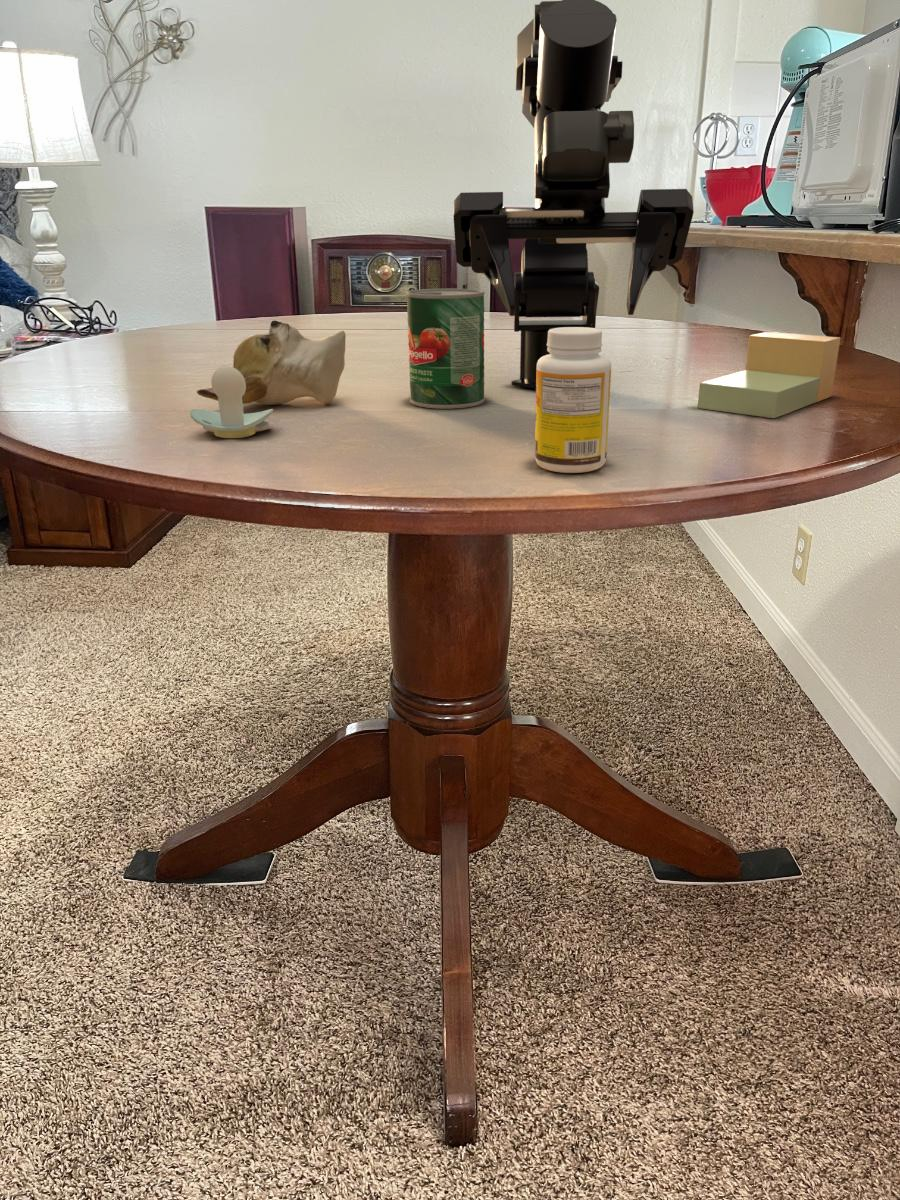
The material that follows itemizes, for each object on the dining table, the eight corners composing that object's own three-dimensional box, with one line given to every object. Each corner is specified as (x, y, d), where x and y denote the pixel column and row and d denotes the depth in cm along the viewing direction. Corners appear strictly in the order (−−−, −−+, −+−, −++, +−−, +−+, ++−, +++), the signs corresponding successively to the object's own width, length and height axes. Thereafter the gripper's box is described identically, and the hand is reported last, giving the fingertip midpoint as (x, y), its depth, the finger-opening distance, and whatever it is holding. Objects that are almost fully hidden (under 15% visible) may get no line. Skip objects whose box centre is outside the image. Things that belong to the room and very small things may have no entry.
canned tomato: (497, 397, 95) (498, 289, 91) (463, 411, 89) (462, 295, 84) (432, 392, 98) (430, 287, 94) (395, 405, 92) (391, 293, 88)
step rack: (697, 408, 89) (703, 346, 86) (758, 388, 98) (765, 331, 96) (774, 418, 84) (783, 353, 81) (831, 396, 93) (840, 337, 91)
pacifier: (205, 428, 84) (187, 440, 78) (198, 360, 82) (179, 368, 76) (282, 427, 84) (270, 440, 78) (277, 359, 82) (264, 367, 76)
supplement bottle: (559, 453, 73) (564, 323, 69) (619, 463, 70) (627, 328, 65) (519, 467, 69) (522, 331, 65) (580, 479, 66) (587, 336, 62)
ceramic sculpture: (339, 320, 85) (183, 332, 85) (349, 410, 89) (200, 422, 89) (346, 310, 95) (207, 321, 95) (356, 391, 99) (221, 402, 99)
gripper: (453, 77, 68) (446, 235, 62) (701, 70, 67) (717, 232, 61) (459, 192, 78) (453, 338, 72) (674, 189, 77) (685, 336, 71)
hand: (571, 311), depth 69 cm, fingers open, 9 cm apart
